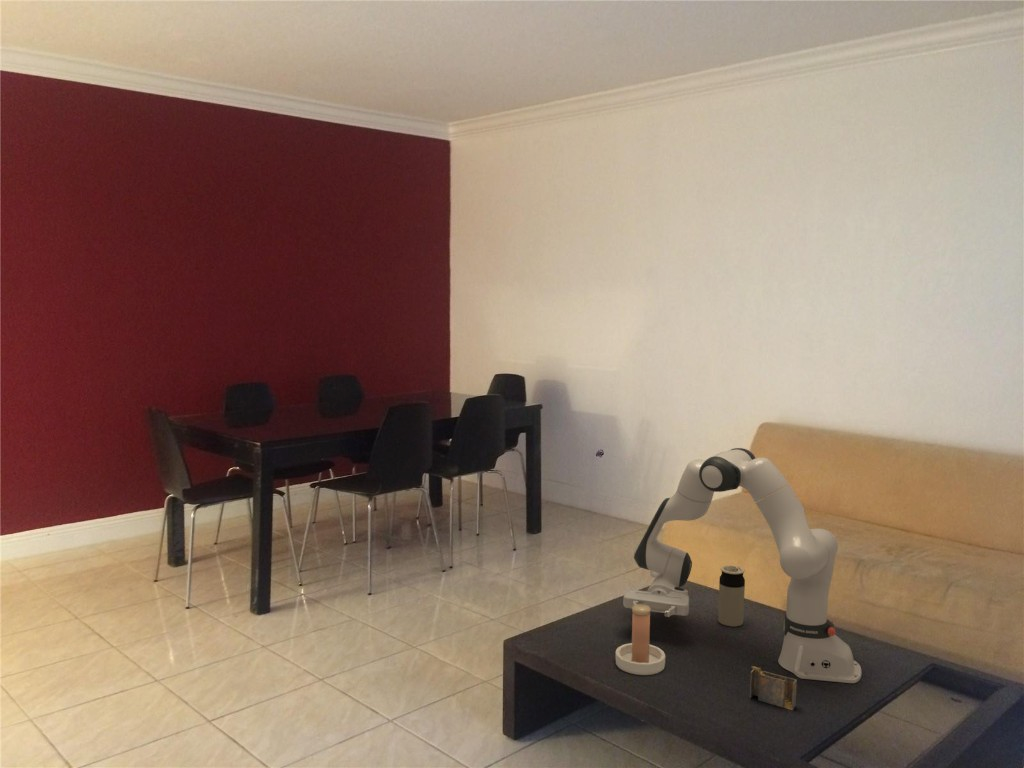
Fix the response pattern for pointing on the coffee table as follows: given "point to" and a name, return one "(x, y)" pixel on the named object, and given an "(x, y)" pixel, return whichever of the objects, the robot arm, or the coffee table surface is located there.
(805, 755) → the coffee table surface
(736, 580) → the travel mug
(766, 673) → the brown piece
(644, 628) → the bead jar
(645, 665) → the round tray
